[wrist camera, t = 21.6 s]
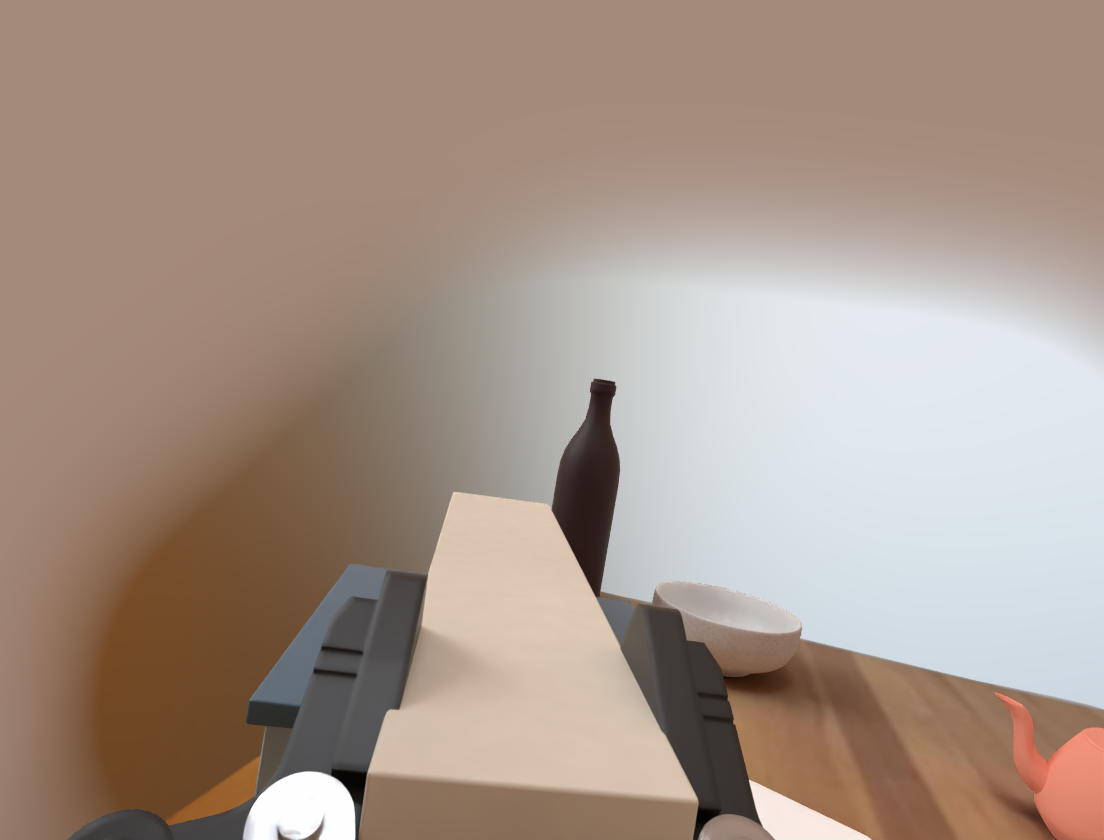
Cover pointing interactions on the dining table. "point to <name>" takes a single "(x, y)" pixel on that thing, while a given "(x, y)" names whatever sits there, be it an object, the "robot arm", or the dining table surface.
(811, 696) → the dining table surface
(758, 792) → the plate
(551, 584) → the slat
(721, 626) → the cereal bowl
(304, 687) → the container
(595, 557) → the wine bottle
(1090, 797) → the teapot
